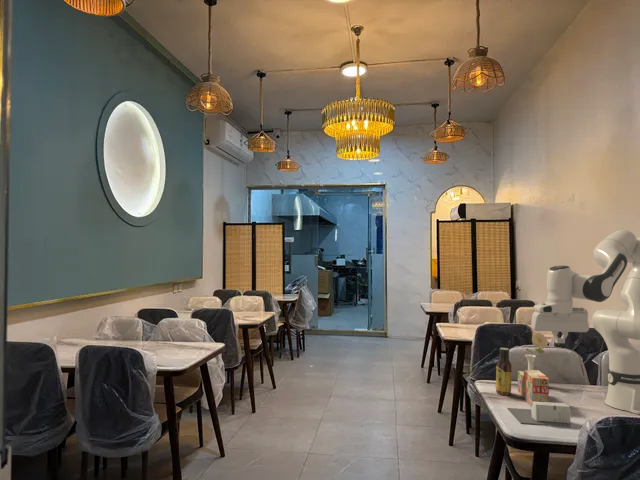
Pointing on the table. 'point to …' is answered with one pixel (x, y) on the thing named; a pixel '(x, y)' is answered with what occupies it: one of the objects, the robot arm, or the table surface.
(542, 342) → the flower in vase
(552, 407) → the skincare box
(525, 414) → the placemat
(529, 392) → the stack of blocks
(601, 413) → the table surface
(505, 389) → the sauce bottle
